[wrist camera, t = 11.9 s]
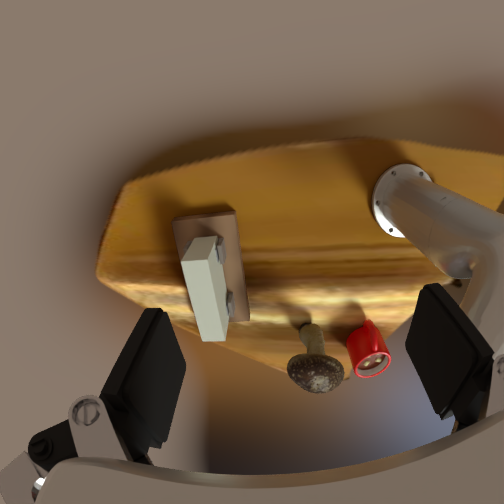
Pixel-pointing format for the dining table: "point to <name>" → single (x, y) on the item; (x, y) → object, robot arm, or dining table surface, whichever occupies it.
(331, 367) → the mushroom
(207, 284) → the pale grey rectangular block
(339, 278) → the dining table surface
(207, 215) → the board
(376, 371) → the mug
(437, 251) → the robot arm
